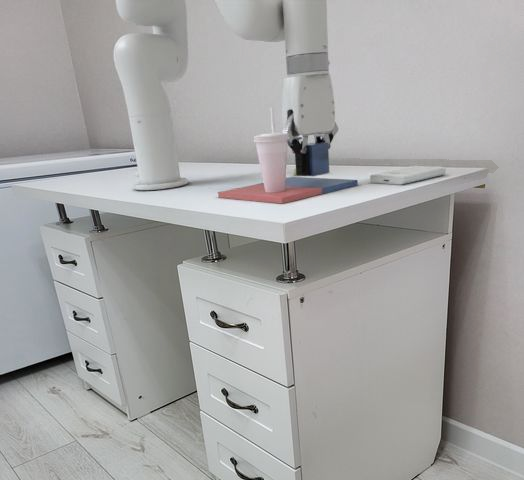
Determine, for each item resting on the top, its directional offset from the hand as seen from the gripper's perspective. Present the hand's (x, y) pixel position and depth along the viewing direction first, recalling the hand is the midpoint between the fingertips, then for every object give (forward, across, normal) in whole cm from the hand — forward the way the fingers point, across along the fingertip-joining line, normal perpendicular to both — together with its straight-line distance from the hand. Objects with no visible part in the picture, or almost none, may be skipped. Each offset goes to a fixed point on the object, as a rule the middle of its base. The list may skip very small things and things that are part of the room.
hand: (312, 172), depth 104 cm
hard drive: (+3, -14, +12) cm, 19 cm away
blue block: (0, 0, 0) cm, 0 cm away
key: (+3, -18, -17) cm, 25 cm away
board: (+3, +5, -2) cm, 6 cm away
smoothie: (+2, +10, 0) cm, 10 cm away
